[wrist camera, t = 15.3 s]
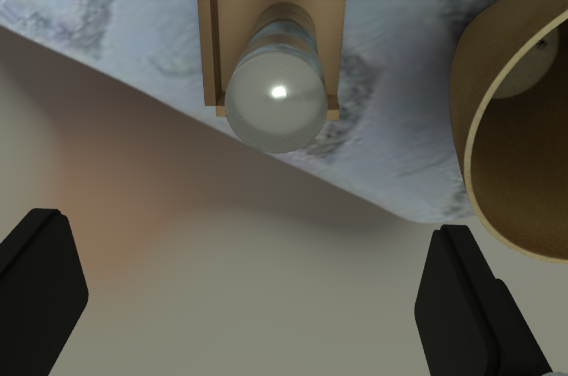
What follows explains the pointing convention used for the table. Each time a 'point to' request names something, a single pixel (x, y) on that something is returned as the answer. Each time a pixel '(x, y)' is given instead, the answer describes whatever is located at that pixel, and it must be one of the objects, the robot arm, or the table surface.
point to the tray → (237, 34)
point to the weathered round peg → (278, 83)
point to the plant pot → (515, 123)
